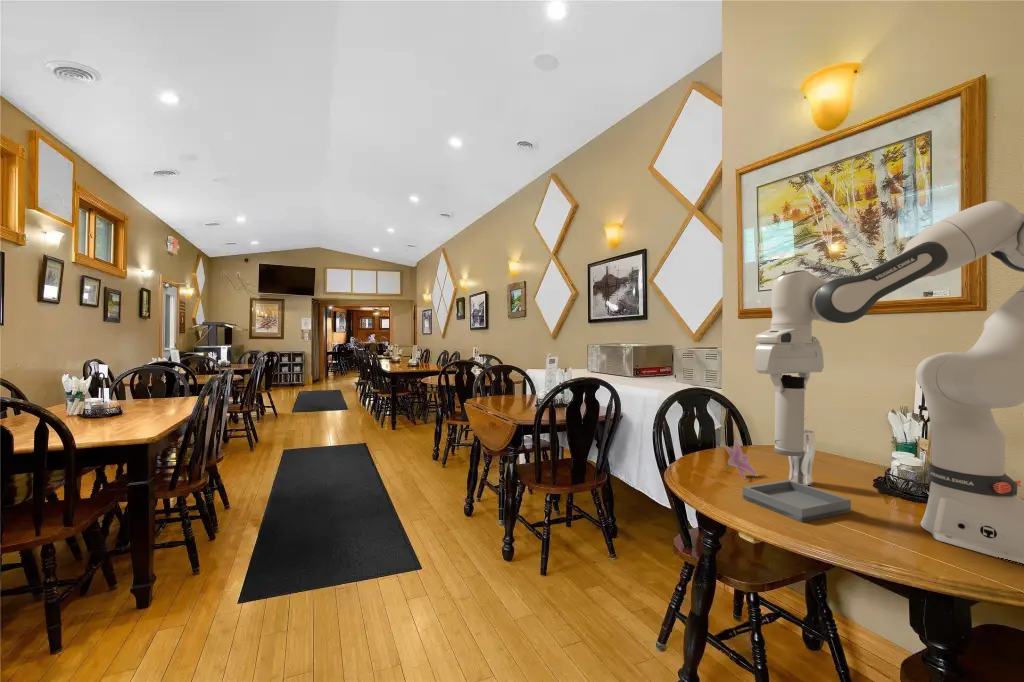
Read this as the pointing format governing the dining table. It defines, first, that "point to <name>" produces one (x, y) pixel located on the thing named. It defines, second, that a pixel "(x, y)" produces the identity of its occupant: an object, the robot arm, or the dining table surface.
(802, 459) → the beer glass
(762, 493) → the serving tray
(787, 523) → the dining table surface
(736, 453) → the lily
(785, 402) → the travel mug
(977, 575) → the dining table surface
